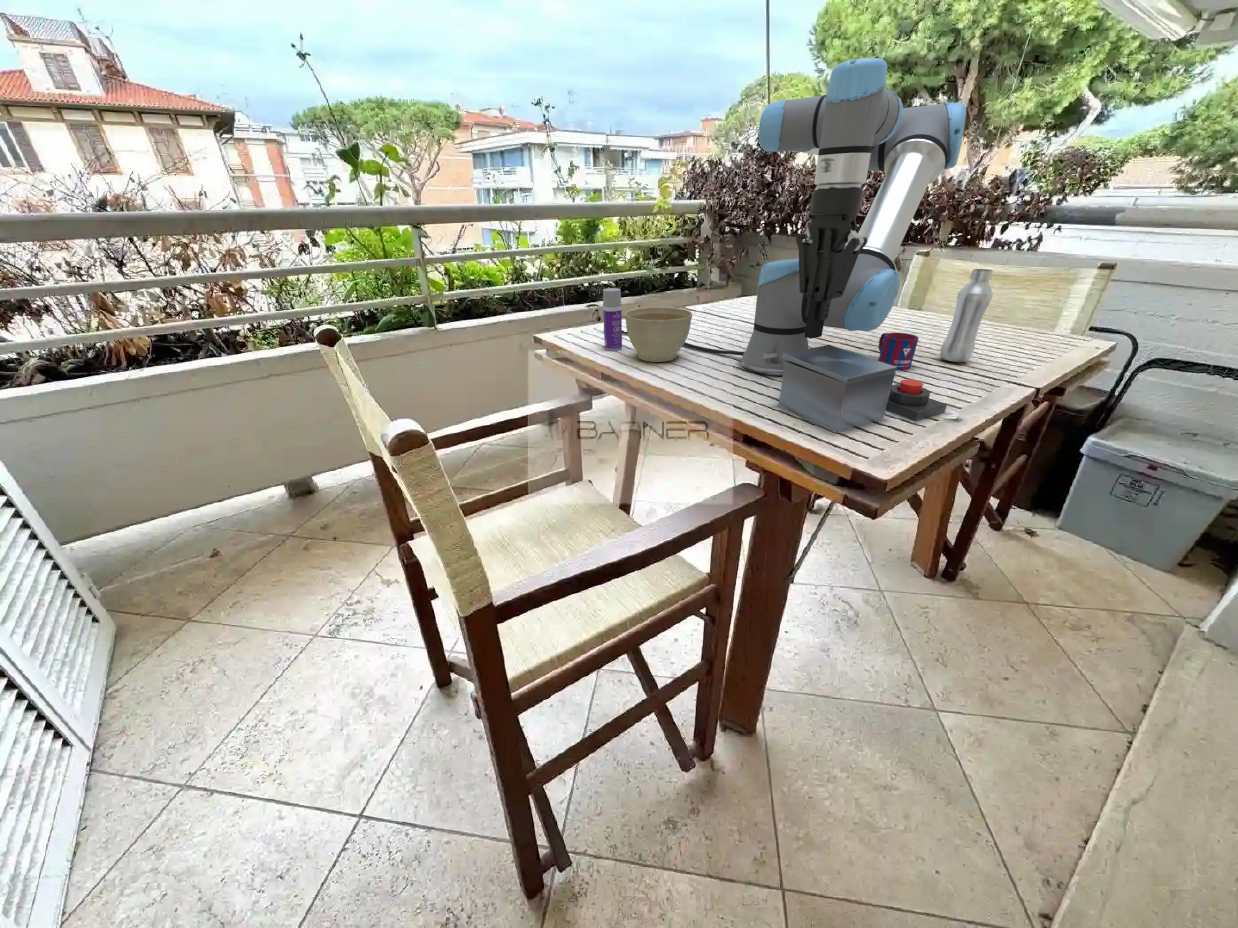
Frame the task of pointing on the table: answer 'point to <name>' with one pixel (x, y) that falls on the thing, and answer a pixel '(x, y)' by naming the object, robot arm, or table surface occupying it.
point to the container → (612, 319)
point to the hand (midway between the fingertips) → (812, 336)
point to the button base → (913, 404)
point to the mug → (897, 349)
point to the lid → (839, 363)
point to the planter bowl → (658, 331)
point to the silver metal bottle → (967, 317)
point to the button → (910, 386)
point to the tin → (833, 398)
